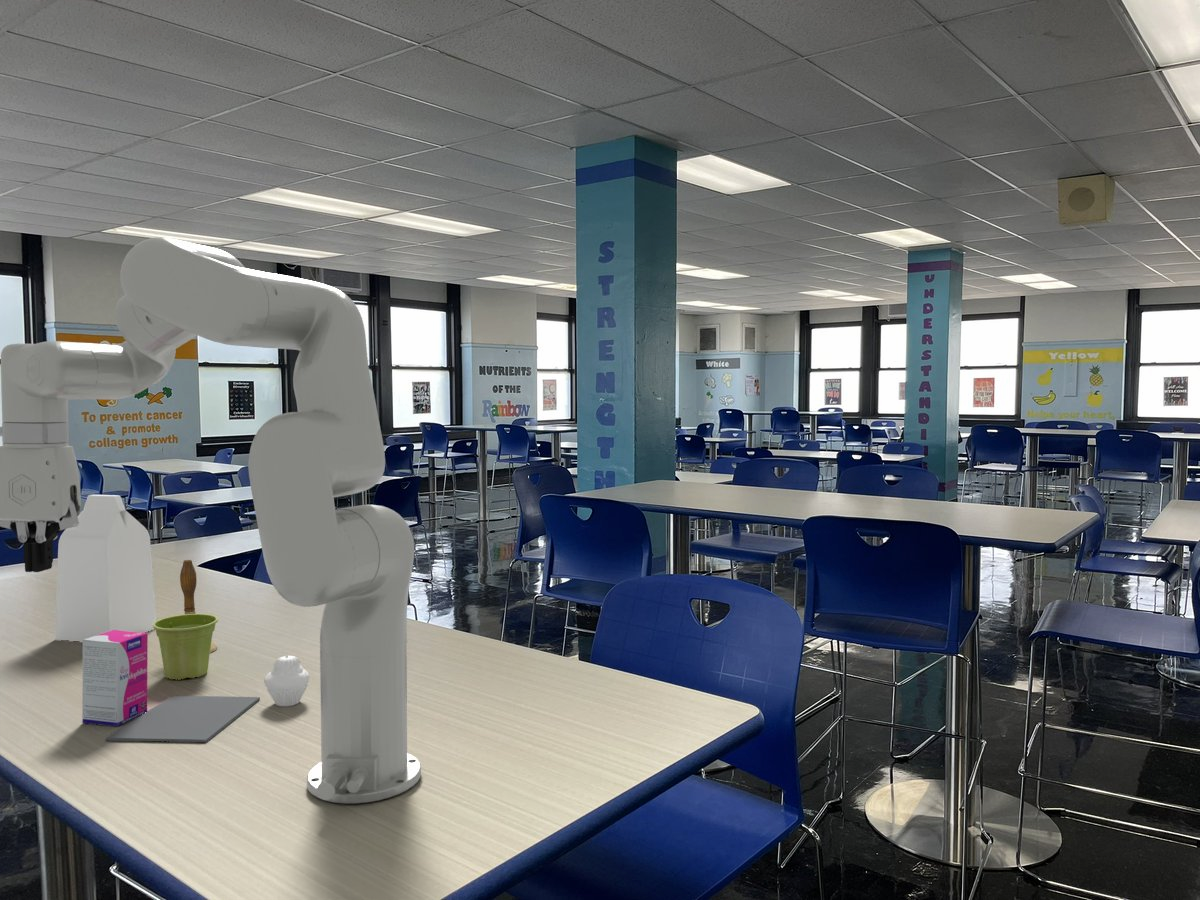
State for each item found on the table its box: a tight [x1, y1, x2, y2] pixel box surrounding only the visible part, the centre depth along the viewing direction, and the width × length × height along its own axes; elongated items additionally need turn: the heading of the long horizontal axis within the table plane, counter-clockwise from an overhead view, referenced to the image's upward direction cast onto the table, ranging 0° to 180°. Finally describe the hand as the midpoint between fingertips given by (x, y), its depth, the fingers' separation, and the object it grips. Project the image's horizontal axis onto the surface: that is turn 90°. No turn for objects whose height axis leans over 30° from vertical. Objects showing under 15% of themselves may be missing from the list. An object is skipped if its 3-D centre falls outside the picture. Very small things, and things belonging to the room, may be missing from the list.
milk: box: [54, 494, 158, 643], centre depth 161 cm, size 12×12×26 cm
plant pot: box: [153, 613, 219, 681], centre depth 137 cm, size 9×9×9 cm
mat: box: [105, 695, 261, 744], centre depth 118 cm, size 16×13×1 cm
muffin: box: [264, 654, 310, 707], centre depth 125 cm, size 6×6×7 cm
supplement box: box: [81, 630, 149, 727], centre depth 118 cm, size 6×6×12 cm
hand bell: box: [179, 559, 218, 654], centre depth 150 cm, size 8×8×16 cm
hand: (38, 569), depth 118 cm, fingers closed
